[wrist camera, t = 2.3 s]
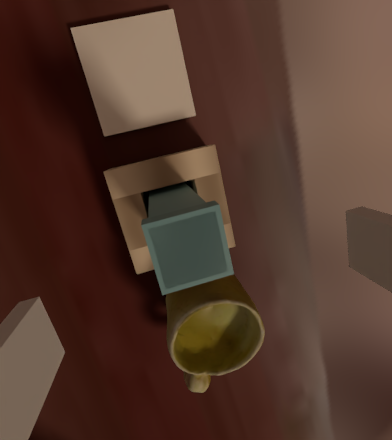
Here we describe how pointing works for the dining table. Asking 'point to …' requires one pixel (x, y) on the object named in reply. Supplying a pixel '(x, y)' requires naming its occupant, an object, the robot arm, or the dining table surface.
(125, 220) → the socket block
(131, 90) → the tile
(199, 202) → the plug
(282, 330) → the dining table surface
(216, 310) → the mug
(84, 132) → the dining table surface
